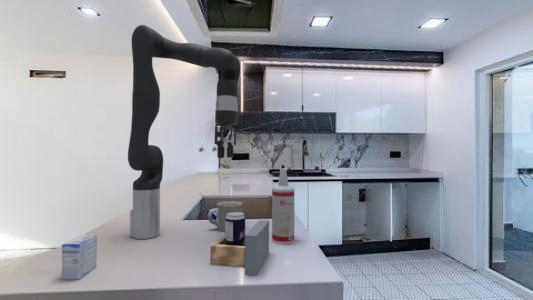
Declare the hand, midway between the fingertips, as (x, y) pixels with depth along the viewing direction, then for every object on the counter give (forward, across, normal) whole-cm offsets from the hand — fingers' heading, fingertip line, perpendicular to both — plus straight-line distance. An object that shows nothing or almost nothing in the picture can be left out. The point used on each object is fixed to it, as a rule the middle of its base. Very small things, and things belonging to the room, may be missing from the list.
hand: (225, 157), depth 98 cm
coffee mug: (+29, +15, +5) cm, 33 cm away
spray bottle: (+28, +5, -20) cm, 35 cm away
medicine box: (+30, -32, +26) cm, 51 cm away
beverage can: (+28, -14, -9) cm, 32 cm away
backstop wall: (+28, -16, -16) cm, 36 cm away
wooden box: (+28, -14, -9) cm, 33 cm away
